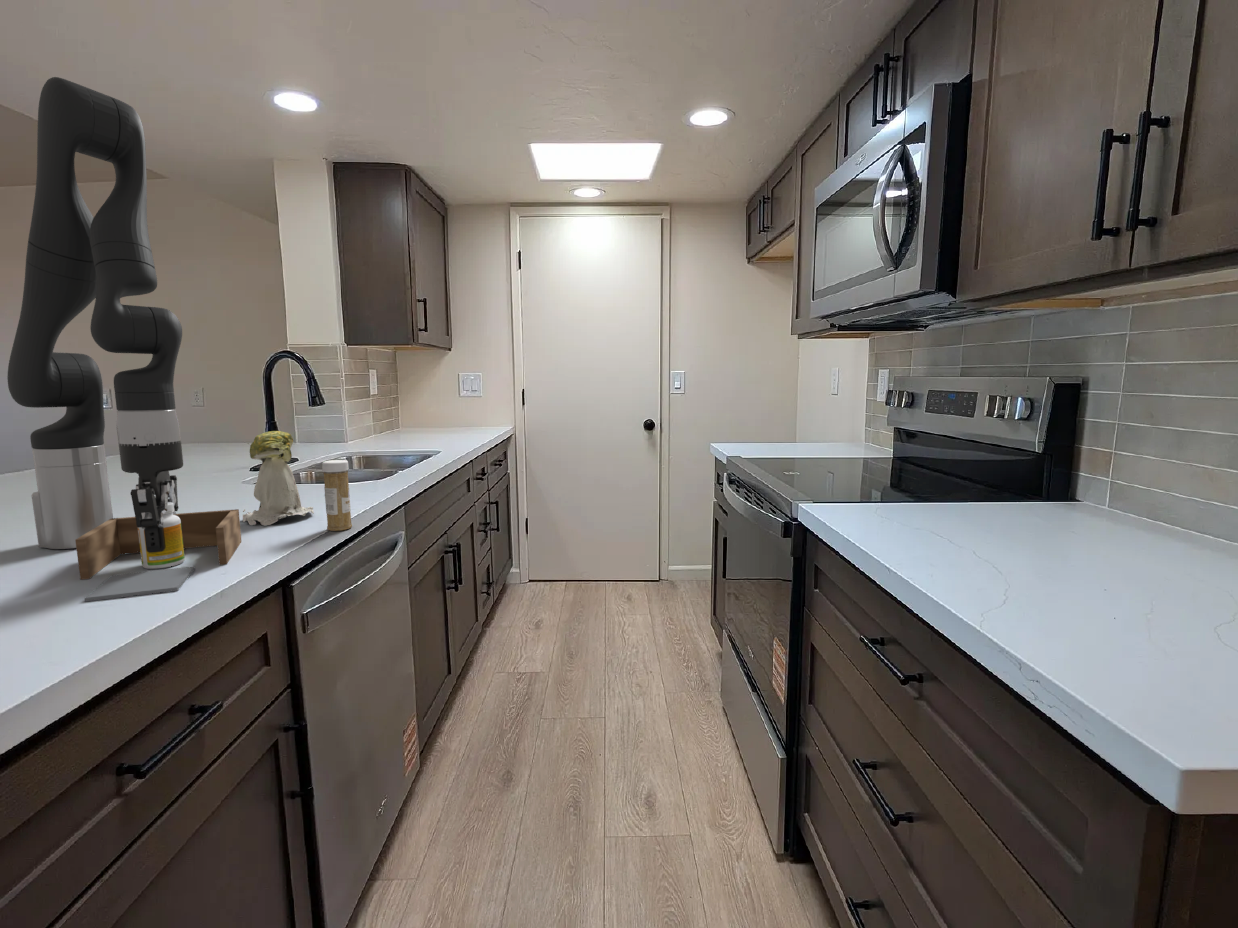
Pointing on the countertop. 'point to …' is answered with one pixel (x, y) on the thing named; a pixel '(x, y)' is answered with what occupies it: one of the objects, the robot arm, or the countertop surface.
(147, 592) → the grey mat
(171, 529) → the supplement bottle
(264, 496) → the yellow capped ghost figurine
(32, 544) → the countertop surface
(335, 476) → the sprinkles bottle
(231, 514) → the open box
